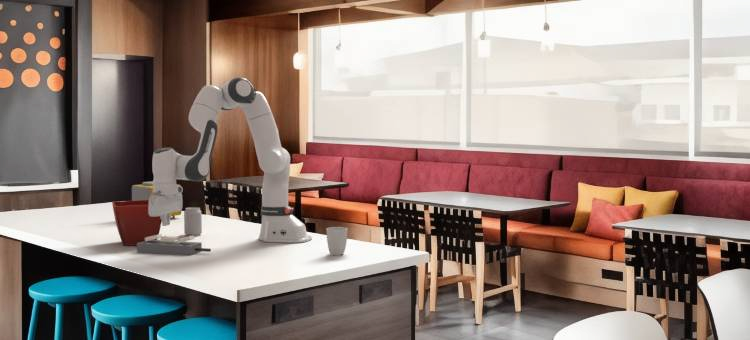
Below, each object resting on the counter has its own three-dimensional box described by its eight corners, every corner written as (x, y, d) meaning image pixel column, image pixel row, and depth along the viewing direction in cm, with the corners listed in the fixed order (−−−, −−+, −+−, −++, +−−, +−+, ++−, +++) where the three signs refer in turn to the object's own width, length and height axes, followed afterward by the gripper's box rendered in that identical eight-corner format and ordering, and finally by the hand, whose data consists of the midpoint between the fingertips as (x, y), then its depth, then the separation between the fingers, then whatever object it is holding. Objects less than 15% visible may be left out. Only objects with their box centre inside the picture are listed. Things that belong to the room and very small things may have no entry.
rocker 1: (161, 237, 335) (161, 233, 335) (157, 238, 332) (156, 234, 332) (149, 240, 337) (148, 236, 337) (145, 241, 334) (144, 237, 334)
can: (197, 236, 371) (197, 209, 370) (181, 236, 373) (181, 208, 372) (204, 234, 378) (204, 207, 378) (188, 233, 380) (188, 206, 379)
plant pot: (112, 240, 359) (111, 200, 358) (159, 238, 366) (158, 199, 365) (116, 248, 342) (115, 206, 340) (165, 245, 348) (164, 204, 347)
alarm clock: (163, 215, 440) (163, 179, 439) (182, 218, 430) (182, 181, 429) (130, 219, 426) (129, 182, 424) (149, 222, 415) (148, 184, 414)
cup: (336, 251, 334) (336, 226, 333) (351, 254, 329) (351, 228, 328) (322, 254, 328) (321, 228, 327) (337, 256, 322) (337, 230, 322)
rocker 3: (194, 238, 331) (193, 235, 331) (190, 240, 328) (189, 236, 328) (181, 242, 333) (180, 238, 333) (177, 243, 330) (176, 239, 330)
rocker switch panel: (215, 252, 332) (215, 242, 332) (204, 256, 324) (204, 246, 323) (149, 248, 340) (149, 239, 340) (137, 252, 332) (136, 242, 332)
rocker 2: (177, 239, 333) (177, 235, 333) (173, 240, 330) (173, 237, 330) (165, 239, 335) (164, 235, 335) (160, 240, 332) (160, 237, 332)
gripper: (158, 192, 320) (159, 229, 321) (184, 187, 340) (186, 222, 341) (143, 192, 322) (144, 229, 323) (170, 187, 342) (171, 221, 343)
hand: (166, 225), depth 332 cm, fingers closed
